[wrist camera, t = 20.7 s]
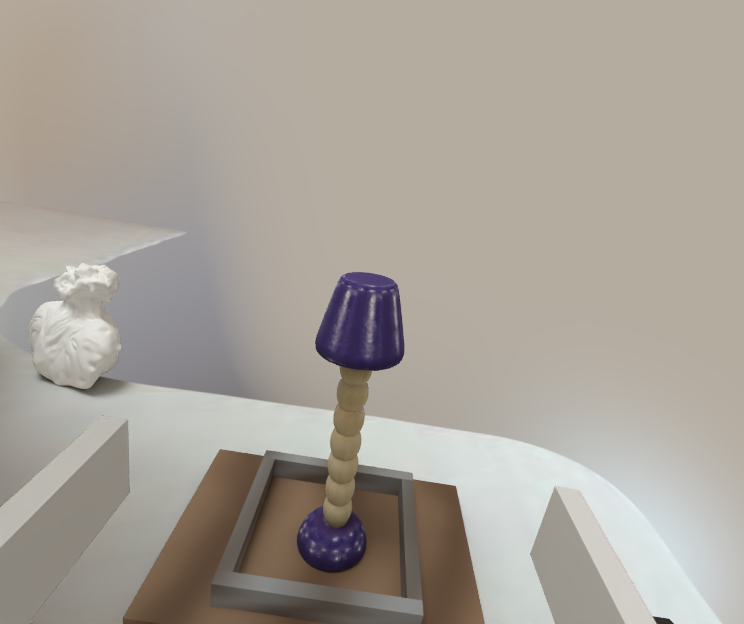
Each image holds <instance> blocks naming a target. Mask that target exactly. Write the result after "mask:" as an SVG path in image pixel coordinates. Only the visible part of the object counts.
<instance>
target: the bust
mask: <svg viewBox="0 0 744 624" xmlns="http://www.w3.org/2000/svg"><path fill="white" fill-rule="evenodd" d="M119 285H120V279H119V277H118V275H117V274H116V273H115V272H114V271H112V270H110V268H107V266H106V265H101V266H97V265H95V266H91V265H89V264H84V263H81V264H80V266H79V267H78V268H75V267H73V266H70V265H67V266H66V272H65V273H63V274H62V275H61V276H60V277H59V278H56V279H55V283H54V288H55V289H56V290H57V292H58V293H59V296H60V297H61V298H62V299H63V300H64V301H54V302H46V303H44V304H42V305H41V306H40V307H39V308H38V309H37V311H36V312H35V314H34V316H33V318H32V320H31V321H30V323H29V326H28V330H27V332H28V338H29V340H30V345H31V350H32V352H33V353H34V355H33V364H34V366H35V368H36V369H37V371H38V372H39V373H40V374H42V375H43V376H45V377H46V378H48V379H50V380H52V381H53V382H54V383H55V384H57V385H59V386H61V385H70V386H73V387H77V388H81V389H88V388H90V387H91V386H92V385H93V384H94V383H95V381H96V380H97V379H98V378H99V376H100V375H101V374H102V373H104V372H107V371H109V370H111V369H112V368H113V367H114V366H115V364H117V362H118V359H119V352H120V351H121V348H122V346H121V345H120V334H119V331H118V329H117V326H116V324H115V321H114V319H113V318H112V317H111V316H110V315H109V314H108V313H107V312H106V311H105V309H104V307H103V306H102V301H105V302H107V303H110V302H111V300H112V297H113V295H114V294H115V293H116V292H117V290H118V288H119Z"/></svg>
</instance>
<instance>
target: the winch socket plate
mask: <svg viewBox="0 0 744 624" xmlns="http://www.w3.org/2000/svg"><path fill="white" fill-rule="evenodd" d="M328 476H329V472H328V460H326V459H319V458H313V457H307V456H300V455H294V454H287V453H281V452H275V451H268V450H266V453H265V455H264V456H260V455H254V454H247V453H241V452H234V451H228V450H222V449H220V450H219V452H218V454H217V455H216V457H215V459H214V461H213V462H212V464H211V466H210V468H209V469H208V471H207V473H206V475H205V476H204V478H203V480H202V482H201V483H200V485H199V487H198V488H197V490H196V492H195V494H194V495H193V497H192V499H191V501H190V502H189V504H188V506H187V508H186V509H185V511H184V513H183V515H182V516H181V518H180V520H179V522H178V523H177V525H176V527H175V528H174V530H173V532H172V534H171V535H170V537H169V539H168V541H167V542H166V544H165V546H164V548H163V549H162V551H161V553H160V555H159V556H158V558H157V560H156V562H155V563H154V565H153V567H152V568H151V570H150V572H149V574H148V575H147V577H146V579H145V581H144V582H143V584H142V586H141V588H140V589H139V591H138V593H137V595H136V596H135V598H134V600H133V602H132V603H131V605H130V607H129V608H128V610H127V612H126V614H125V615H124V617H123V624H484V619H483V615H482V610H481V605H480V600H479V595H478V591H477V586H476V581H475V576H474V571H473V567H472V562H471V557H470V552H469V547H468V542H467V538H466V533H465V528H464V523H463V518H462V514H461V509H460V504H459V499H458V494H457V490H456V486H452V485H445V484H439V483H433V482H426V481H420V480H413V475H412V473H409V472H402V471H396V470H390V469H383V468H377V467H370V466H364V465H358V469H357V472H356V475H355V476H354V480H355V490H354V494H353V496H352V498H351V501H352V511H353V512H354V513H355V514H356V515H357V516H358V517H359V519H360V520H361V522H362V524H363V526H364V528H365V533H366V541H367V542H366V549H365V552H364V555H363V557H362V558H361V559H360V561H359V562H358V563H356V564H355V565H354V566H352V567H350V568H347V569H345V570H342V571H334V572H328V571H323V570H320V569H317V568H315V567H313V566H311V565H310V564H309V563H307V562H306V561H305V560H304V559H303V557H302V556H301V554H300V553H299V550H298V546H297V535H298V531H299V529H300V526H301V525H302V523H303V521H304V520H305V518H306V517H307V516H308V514H309V513H311V512H312V511H314V510H315V509H317V508H319V507H321V506H323V505H324V501H325V499H326V497H327V495H326V481H327V478H328Z"/></svg>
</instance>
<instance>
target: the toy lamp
mask: <svg viewBox="0 0 744 624" xmlns="http://www.w3.org/2000/svg"><path fill="white" fill-rule="evenodd" d="M315 344H316V350H317V352H318V353H319V354H320V355H321V356H322V357H323V358H324V359H326V360H327V361H329V362H332V363H334V364H336V365H339V366H340V374H341V377H342V379H341V380H340V382H339V384H338V388H337V400H338V405H337V406H336V408H335V412H334V426H335V428H334V430H333V432H332V435H331V440H330V446H331V451H332V452H331V454H330V456H329V459H328V472H329V476H328V478H327V481H326V495H327V497H326V499H325V501H324V505H323V506H321V507H319V508H317V509H315V510H314V511H312V512H311V513H309V514H308V516H307V517H306V518H305V520H304V521H303V523H302V525H301V526H300V529H299V531H298V535H297V546H298V550H299V553H300V554H301V556H302V557H303V559H304V560H305V561H306V562H307V563H309V564H310V565H311V566H313V567H315V568H317V569H320V570H323V571H328V572H334V571H342V570H345V569H347V568H350V567H352V566H354V565H355V564H356V563H358V562H359V561H360V559H361V558H362V557H363V555H364V552H365V549H366V542H367V541H366V533H365V528H364V526H363V524H362V522H361V520H360V519H359V517H358V516H357V515H356V514H355V513H354V512H353V511H352V501H351V498H352V496H353V494H354V490H355V480H354V476H355V475H356V472H357V469H358V457H357V453H358V452H359V450H360V446H361V434H360V430H361V428H362V426H363V423H364V417H365V413H364V408H363V406H364V405H365V403H366V401H367V398H368V384H367V381H368V380H369V378H370V376H371V373H372V370H373V371H378V370H384V369H388V368H391V367H393V366H395V365H397V364H399V363H400V361H401V360H402V358H403V356H404V337H403V326H402V315H401V305H400V296H399V290H398V286H397V284H396V283H395V282H394V281H393V280H392V279H390V278H388V277H385V276H382V275H377V274H372V273H363V272H352V273H347V274H344V275H343V276H342V277H341V278H340V279H339V281H338V283H337V285H336V287H335V290H334V292H333V295H332V297H331V300H330V302H329V305H328V308H327V311H326V313H325V315H324V318H323V321H322V323H321V326H320V329H319V331H318V334H317V337H316V342H315Z"/></svg>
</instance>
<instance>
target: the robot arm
mask: <svg viewBox="0 0 744 624" xmlns="http://www.w3.org/2000/svg"><path fill="white" fill-rule="evenodd" d="M129 493H130V488H129V443H128V419H124V418H118V417H111V416H105V415H102V416H101V417H100V418H99V419H98V420H97V421H95V422H94V423H93V424H92V425H91V426H90V427H89V428H88V429H87V430H85V431H84V432H83V433H82V434H81V435H80V436H79V437H78V438H77V439H76V440H74V441H73V442H72V443H71V444H70V445H69V446H68V447H67V448H66V449H64V450H63V451H62V452H61V453H60V454H59V455H58V456H57V457H56V458H54V459H53V460H52V461H51V462H50V463H49V464H48V465H47V466H46V467H44V468H43V469H42V470H41V471H40V472H39V473H38V474H37V475H36V476H35V477H33V478H32V479H31V480H30V481H29V482H28V483H27V484H26V485H25V486H23V487H22V488H21V489H20V490H19V491H18V492H17V493H16V494H15V495H13V496H12V497H11V498H10V499H9V500H8V501H7V502H6V503H5V504H3V505H2V506H1V507H0V624H29V622H30V621H31V620H32V618H33V617H34V616H35V615H36V613H37V612H38V611H39V609H40V608H41V607H42V605H43V604H44V603H45V602H46V600H47V599H48V598H49V596H50V595H51V594H52V592H53V591H54V590H55V589H56V587H57V586H58V585H59V583H60V582H61V581H62V579H63V578H64V577H65V576H66V574H67V573H68V572H69V570H70V569H71V568H72V567H73V565H74V564H75V563H76V561H77V560H78V559H79V557H80V556H81V555H82V554H83V552H84V551H85V550H86V548H87V547H88V546H89V544H90V543H91V542H92V541H93V539H94V538H95V537H96V535H97V534H98V533H99V531H100V530H101V529H102V528H103V526H104V525H105V524H106V522H107V521H108V520H109V519H110V517H111V516H112V515H113V513H114V512H115V511H116V509H117V508H118V507H119V506H120V504H121V503H122V502H123V500H124V499H125V498H126V496H127V495H128V494H129ZM530 555H531V558H532V560H533V563H534V566H535V569H536V571H537V574H538V577H539V580H540V583H541V585H542V588H543V591H544V594H545V596H546V599H547V602H548V605H549V608H550V610H551V613H552V616H553V619H554V621H555V624H674V623H673V622H672V621H671V620H670V619H666V618H660V617H653V616H652V615H651V613H650V611H649V610H648V608H647V606H646V604H645V603H644V601H643V599H642V598H641V596H640V594H639V592H638V591H637V589H636V587H635V585H634V584H633V582H632V580H631V579H630V577H629V575H628V573H627V572H626V570H625V568H624V566H623V565H622V563H621V561H620V559H619V558H618V556H617V554H616V553H615V551H614V549H613V547H612V546H611V544H610V542H609V540H608V539H607V537H606V535H605V534H604V532H603V530H602V528H601V527H600V525H599V523H598V521H597V520H596V518H595V516H594V515H593V513H592V511H591V509H590V508H589V506H588V504H587V502H586V501H585V499H584V497H583V495H582V494H581V492H580V490H576V489H570V488H563V487H557V486H555V487H554V490H553V493H552V496H551V498H550V501H549V504H548V507H547V509H546V512H545V515H544V517H543V520H542V523H541V526H540V528H539V531H538V534H537V537H536V539H535V542H534V545H533V548H532V550H531V553H530Z"/></svg>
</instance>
